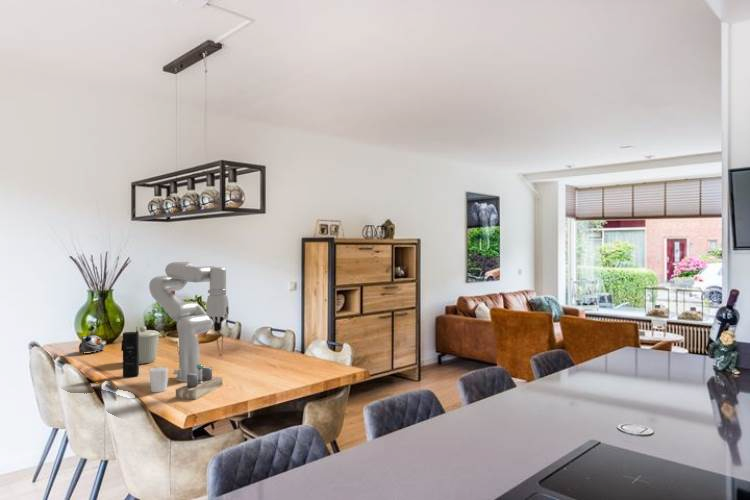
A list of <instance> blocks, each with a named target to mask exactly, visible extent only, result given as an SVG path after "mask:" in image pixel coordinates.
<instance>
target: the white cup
mask: <svg viewBox="0 0 750 500" xmlns="http://www.w3.org/2000/svg"><path fill="white" fill-rule="evenodd" d="M168 378H169V367H166V366H159V367H158V366H157V367H153V368H150V369H149V381H150V391H151V392H152V393H163V392H165V391H167V389H168V381H169V379H168Z"/></svg>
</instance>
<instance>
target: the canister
mask: <svg viewBox="0 0 750 500" xmlns="http://www.w3.org/2000/svg"><path fill="white" fill-rule="evenodd" d="M136 331H138V332H139V365H146V364H145V363H147V364H151V363H153V362H155V361H156V359H157V353H158V347H159V338H160V337H159V336H160V334H161V332H159V331H157V330H153V329H147V327H146V326H145V325H143V326H142V325H141V326H140V327H139V330H134V331H133V332H136ZM150 362H151V363H150Z"/></svg>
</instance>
